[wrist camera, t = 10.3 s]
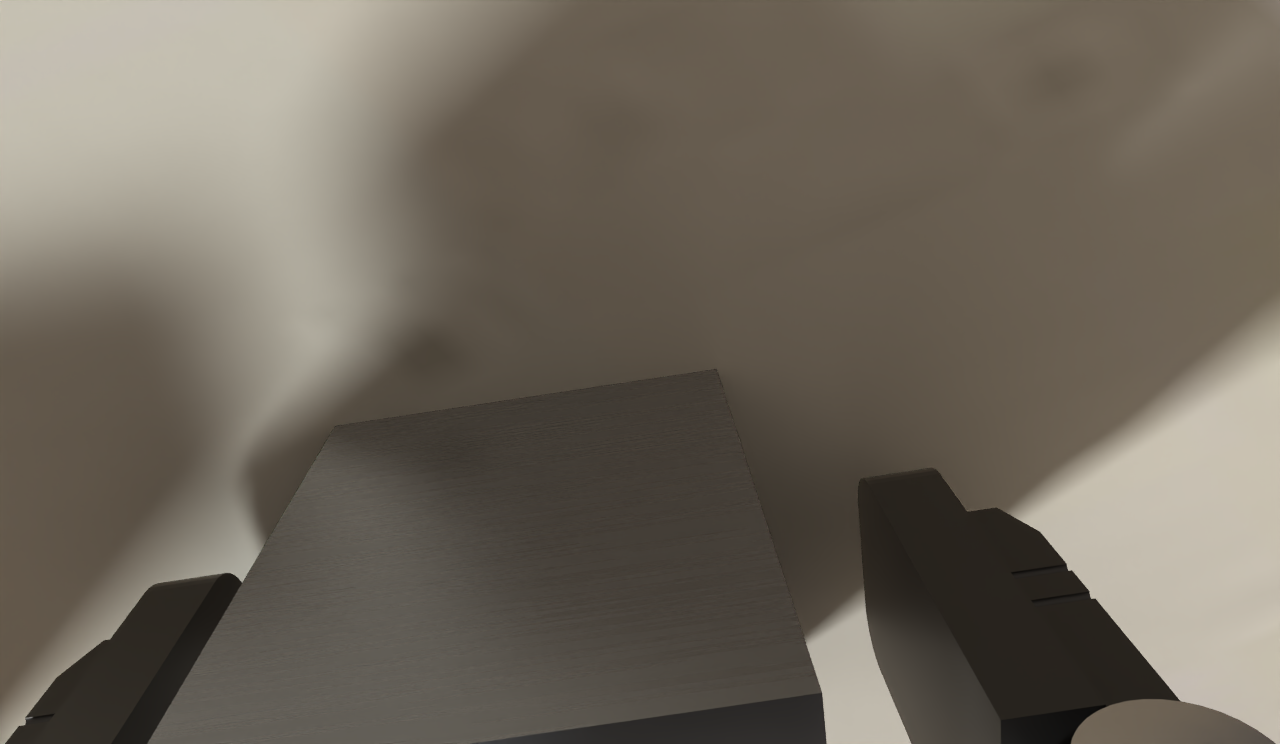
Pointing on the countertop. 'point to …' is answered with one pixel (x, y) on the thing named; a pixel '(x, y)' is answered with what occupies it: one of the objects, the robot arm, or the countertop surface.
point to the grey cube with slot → (516, 587)
